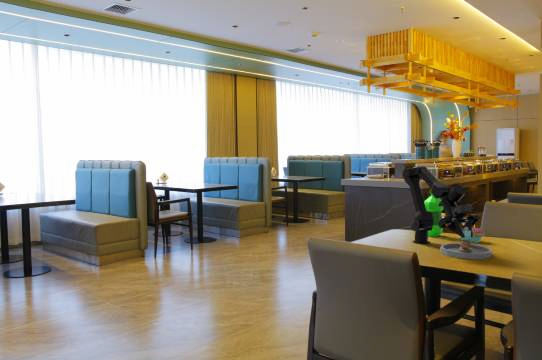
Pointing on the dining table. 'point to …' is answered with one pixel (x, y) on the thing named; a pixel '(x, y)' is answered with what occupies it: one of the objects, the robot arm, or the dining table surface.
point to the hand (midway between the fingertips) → (467, 237)
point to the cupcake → (476, 235)
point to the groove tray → (476, 253)
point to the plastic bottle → (434, 214)
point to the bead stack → (466, 241)
